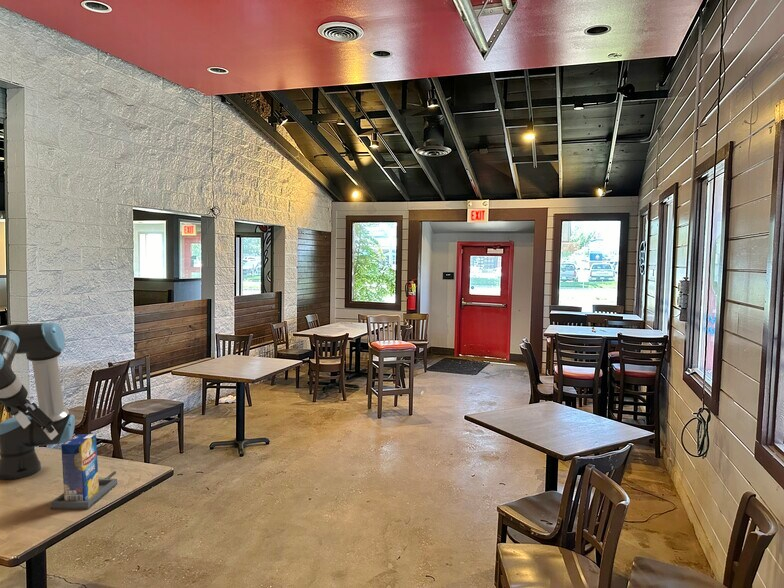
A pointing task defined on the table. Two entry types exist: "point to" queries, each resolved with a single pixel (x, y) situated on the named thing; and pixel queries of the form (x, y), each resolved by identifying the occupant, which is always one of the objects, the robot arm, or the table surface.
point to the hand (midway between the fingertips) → (40, 431)
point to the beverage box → (80, 467)
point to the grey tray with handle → (104, 488)
